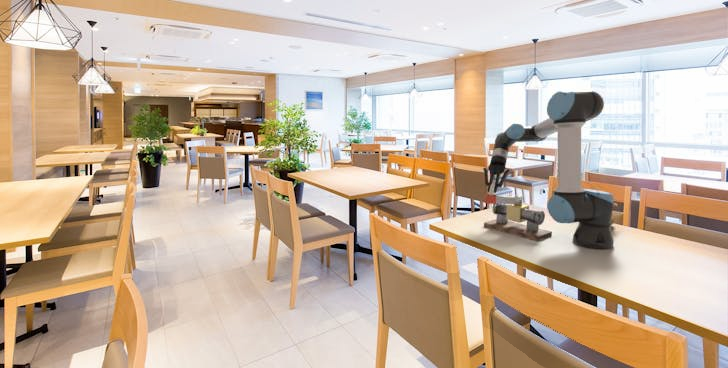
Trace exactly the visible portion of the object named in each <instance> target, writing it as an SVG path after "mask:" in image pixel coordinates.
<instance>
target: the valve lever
mask: <svg viewBox="0 0 728 368" xmlns="http://www.w3.org/2000/svg"><path fill="white" fill-rule="evenodd" d="M523 199H524V197H523V196H522V195H514V196H510V195H509V196H507V195H496V194H494V195H489V194H484V204H491V205H494V204H496V203H502V204H505V205H510V204H514V205H516V206H522V204H523Z"/></svg>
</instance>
